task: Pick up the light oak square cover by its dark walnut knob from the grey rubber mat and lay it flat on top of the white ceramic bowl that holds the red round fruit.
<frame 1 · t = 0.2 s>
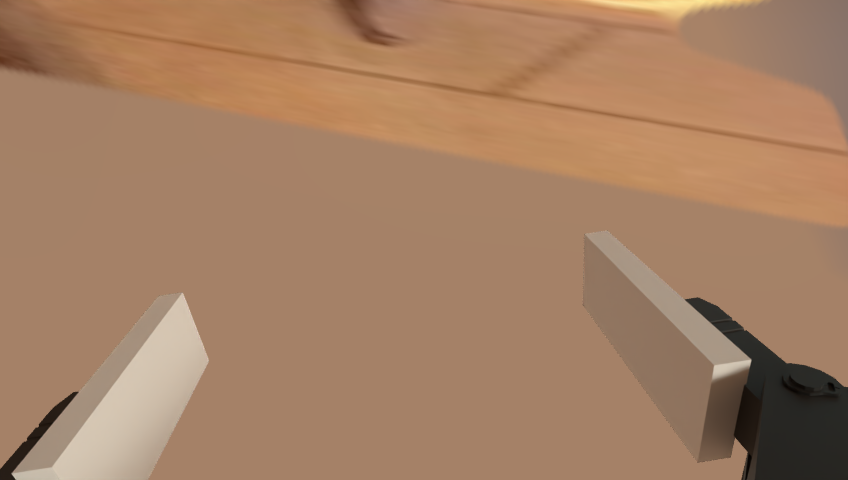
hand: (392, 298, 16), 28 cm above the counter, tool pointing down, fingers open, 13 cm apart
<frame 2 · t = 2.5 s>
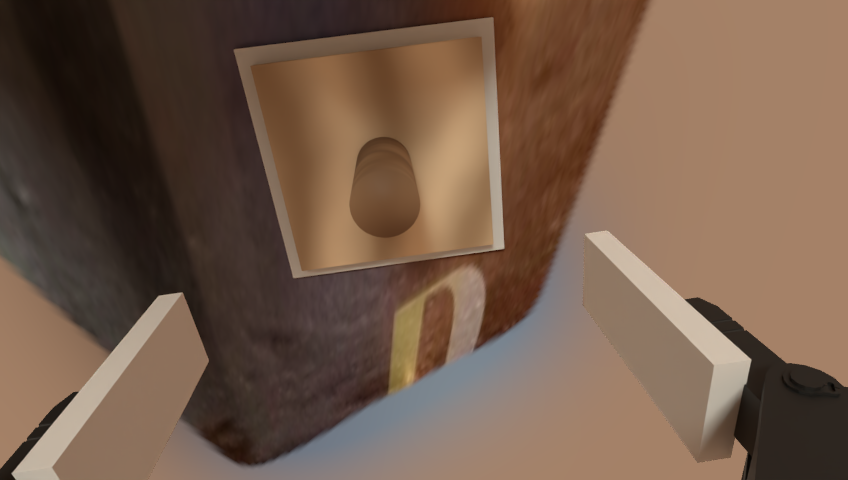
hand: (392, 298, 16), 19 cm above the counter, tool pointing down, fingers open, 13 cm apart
grey mat: (383, 158, 33), on the counter
oak cover: (383, 160, 32), resting on grey mat
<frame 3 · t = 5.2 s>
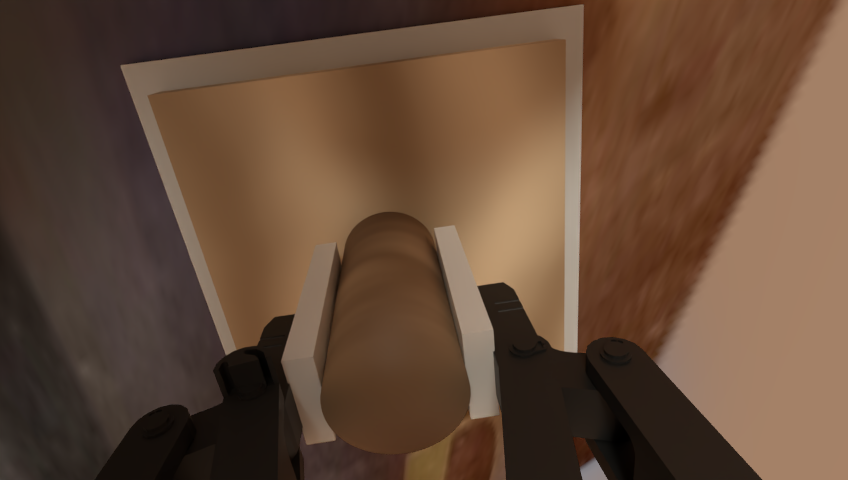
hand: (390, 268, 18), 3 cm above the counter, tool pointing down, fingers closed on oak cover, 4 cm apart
grey mat: (389, 240, 20), on the counter
oak cover: (389, 243, 20), resting on grey mat, touching gripper
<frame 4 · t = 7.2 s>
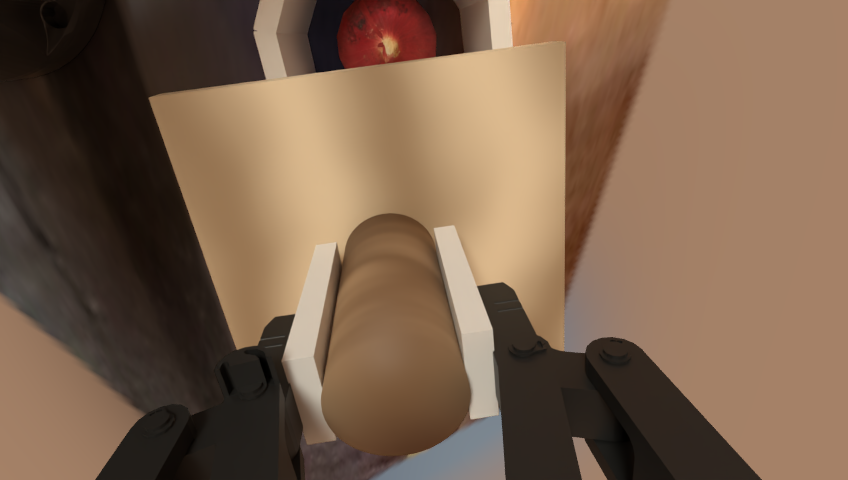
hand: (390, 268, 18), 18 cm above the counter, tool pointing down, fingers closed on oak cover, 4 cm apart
ceramic bowl: (387, 43, 31), on the counter
red round fruit: (387, 43, 31), resting in ceramic bowl
oak cover: (390, 245, 20), point 16 cm above the counter, touching gripper
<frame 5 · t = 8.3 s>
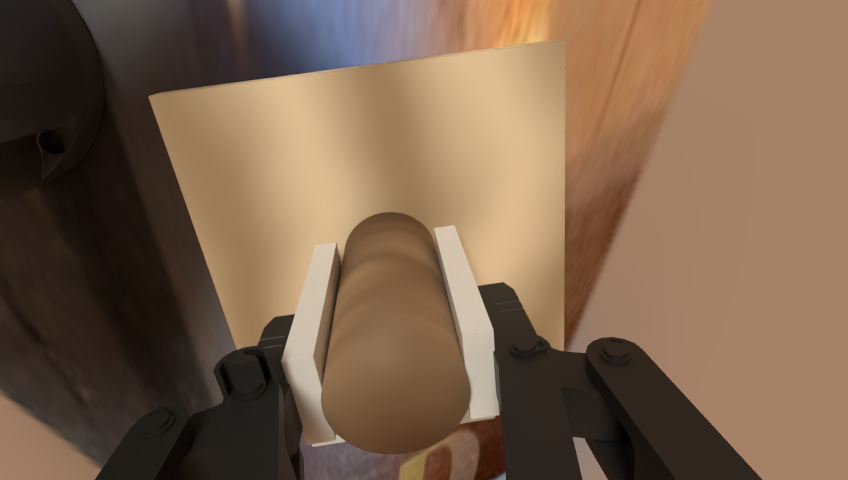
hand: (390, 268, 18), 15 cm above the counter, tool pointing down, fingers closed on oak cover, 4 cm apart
oak cover: (389, 244, 20), point 13 cm above the counter, touching gripper
when the fingers open (13 cm above the counter, at t = 9.3 s): oak cover drops 1 cm, resting on ceramic bowl.
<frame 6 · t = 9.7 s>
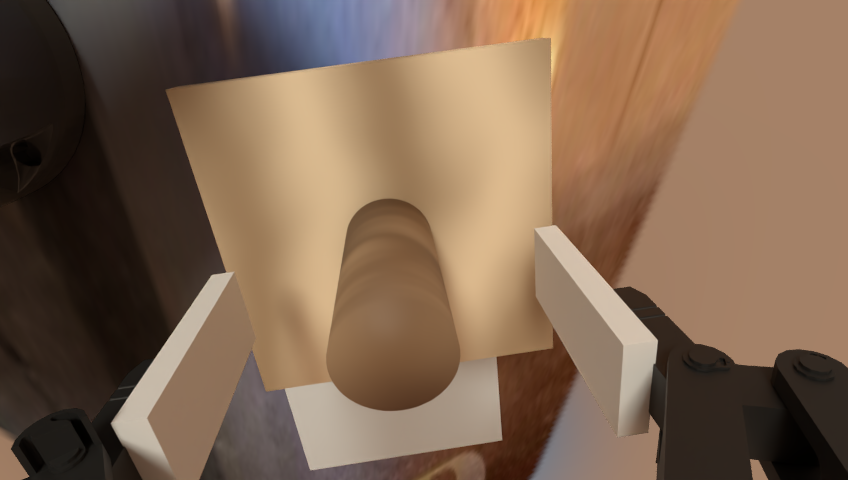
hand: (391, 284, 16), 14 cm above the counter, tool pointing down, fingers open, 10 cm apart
grey mat: (392, 376, 36), on the counter
oak cover: (388, 229, 21), point 9 cm above the counter, touching ceramic bowl
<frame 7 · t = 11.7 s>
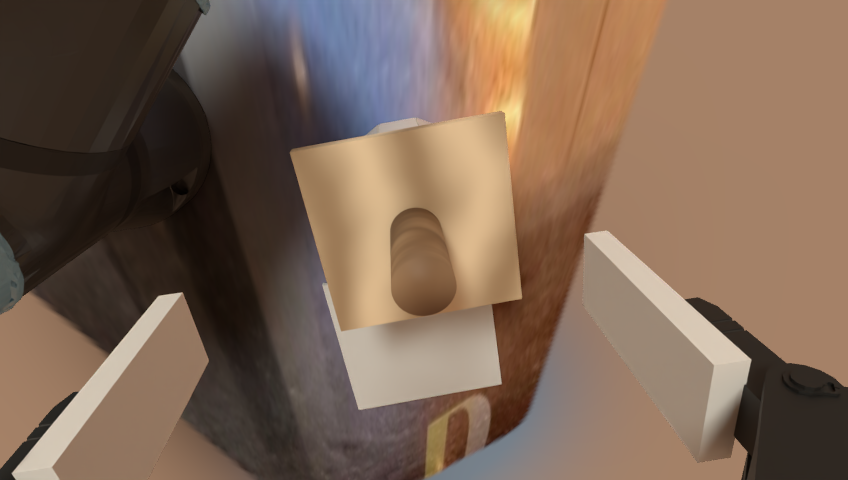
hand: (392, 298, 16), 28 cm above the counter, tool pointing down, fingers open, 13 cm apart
ceramic bowl: (409, 187, 43), on the counter
grey mat: (417, 335, 49), on the counter
oak cover: (415, 226, 34), point 9 cm above the counter, touching ceramic bowl
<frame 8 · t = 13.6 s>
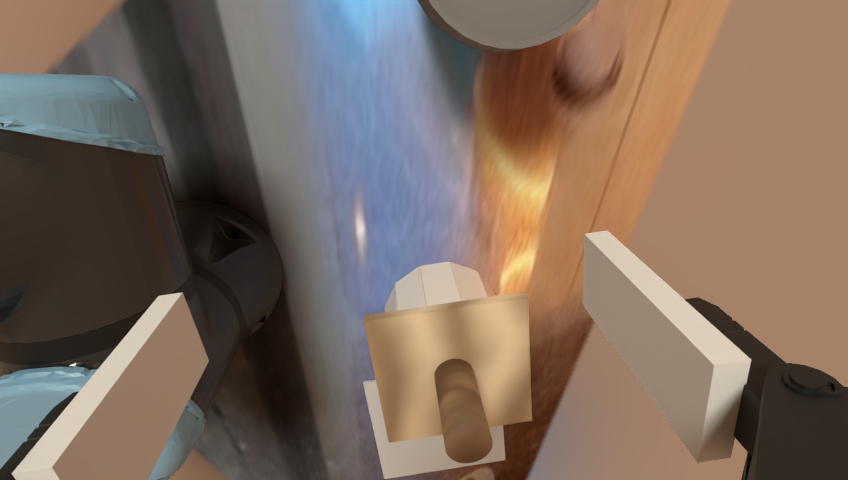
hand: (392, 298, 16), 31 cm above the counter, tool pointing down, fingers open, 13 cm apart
ceramic bowl: (440, 311, 52), on the counter
grey mat: (438, 421, 59), on the counter
oak cover: (452, 367, 44), point 9 cm above the counter, touching ceramic bowl
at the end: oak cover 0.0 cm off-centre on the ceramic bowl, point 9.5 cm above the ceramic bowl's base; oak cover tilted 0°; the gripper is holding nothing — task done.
